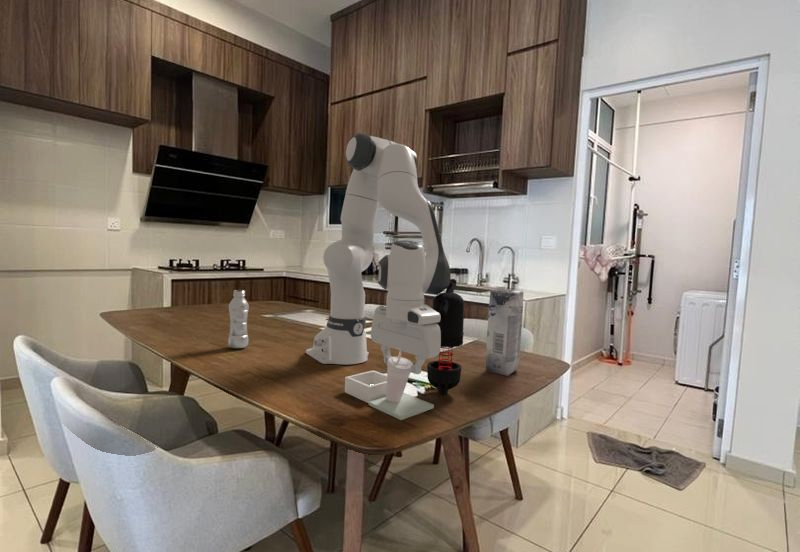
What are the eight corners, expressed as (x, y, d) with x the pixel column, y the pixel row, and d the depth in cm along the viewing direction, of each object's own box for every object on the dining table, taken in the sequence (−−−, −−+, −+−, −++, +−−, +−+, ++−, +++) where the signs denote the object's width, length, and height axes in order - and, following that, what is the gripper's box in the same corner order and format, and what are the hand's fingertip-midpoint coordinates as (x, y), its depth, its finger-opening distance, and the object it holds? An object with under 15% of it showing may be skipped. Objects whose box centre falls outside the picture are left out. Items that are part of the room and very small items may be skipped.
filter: (431, 384, 118) (436, 277, 115) (464, 389, 115) (469, 279, 112) (418, 401, 105) (422, 281, 102) (454, 407, 102) (460, 284, 99)
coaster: (368, 405, 101) (368, 401, 101) (401, 394, 108) (401, 391, 108) (401, 420, 93) (401, 416, 93) (433, 408, 101) (433, 404, 101)
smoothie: (388, 388, 107) (397, 337, 103) (410, 398, 104) (421, 346, 101) (375, 398, 101) (385, 345, 98) (399, 409, 98) (409, 354, 95)
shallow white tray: (344, 392, 109) (345, 376, 108) (372, 384, 115) (373, 370, 115) (368, 403, 102) (369, 387, 101) (397, 394, 108) (398, 379, 108)
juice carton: (520, 370, 136) (526, 286, 134) (509, 378, 127) (516, 288, 125) (494, 364, 141) (499, 284, 138) (482, 371, 132) (487, 286, 130)
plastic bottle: (252, 347, 147) (253, 290, 146) (235, 351, 141) (236, 292, 140) (240, 344, 151) (241, 289, 149) (223, 348, 145) (224, 290, 143)
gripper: (366, 305, 104) (363, 360, 105) (427, 318, 89) (423, 382, 90) (385, 303, 108) (382, 356, 109) (446, 316, 94) (443, 376, 95)
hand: (401, 368), depth 100 cm, fingers open, 8 cm apart
